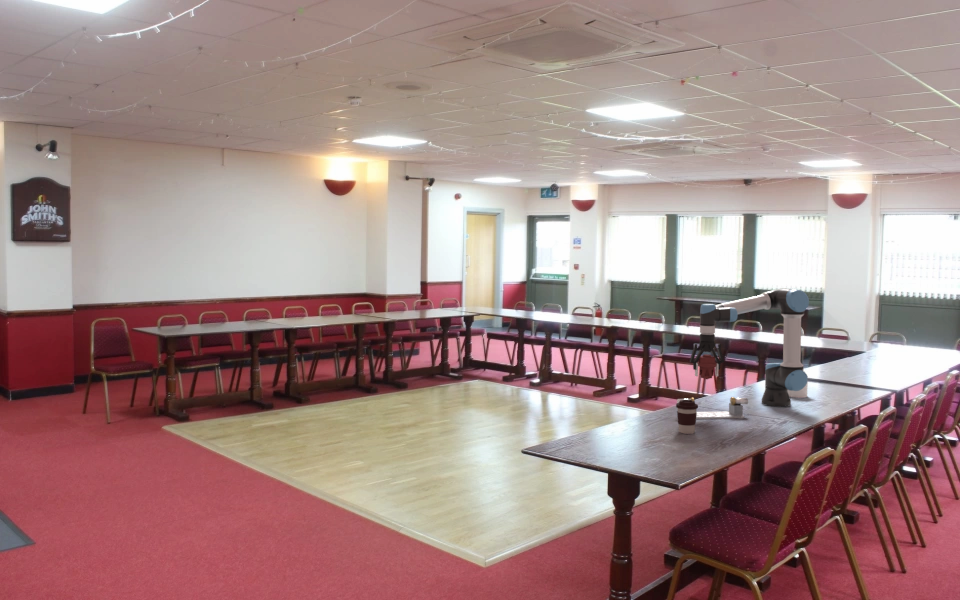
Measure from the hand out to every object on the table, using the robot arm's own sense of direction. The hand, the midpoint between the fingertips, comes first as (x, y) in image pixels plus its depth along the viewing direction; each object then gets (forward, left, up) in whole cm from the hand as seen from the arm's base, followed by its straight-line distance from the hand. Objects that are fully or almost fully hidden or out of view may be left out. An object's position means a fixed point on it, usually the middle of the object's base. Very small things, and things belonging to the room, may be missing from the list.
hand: (706, 375), depth 394 cm
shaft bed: (-1, +6, -20) cm, 21 cm away
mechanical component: (0, 0, -2) cm, 2 cm away
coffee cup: (+22, +39, -20) cm, 49 cm away
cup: (-68, -43, -20) cm, 83 cm away
